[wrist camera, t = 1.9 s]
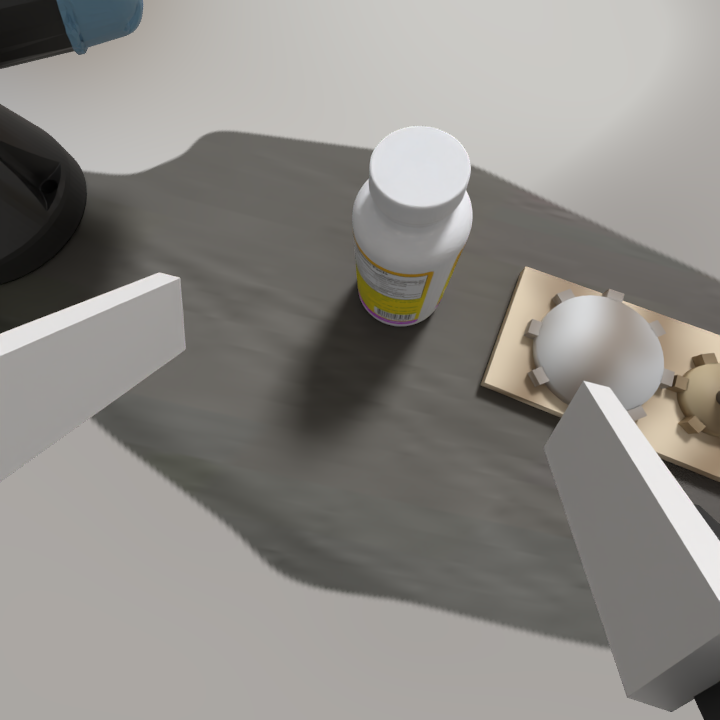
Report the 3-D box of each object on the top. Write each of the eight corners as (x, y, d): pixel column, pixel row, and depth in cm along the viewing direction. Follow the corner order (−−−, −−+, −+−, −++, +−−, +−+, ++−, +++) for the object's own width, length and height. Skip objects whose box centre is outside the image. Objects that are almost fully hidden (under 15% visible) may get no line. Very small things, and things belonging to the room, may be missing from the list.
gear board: (480, 385, 27) (498, 373, 23) (520, 272, 29) (542, 245, 25) (751, 495, 24) (819, 501, 21) (771, 362, 27) (835, 347, 23)
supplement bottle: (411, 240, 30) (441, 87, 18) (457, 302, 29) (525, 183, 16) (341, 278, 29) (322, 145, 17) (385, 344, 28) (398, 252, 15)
